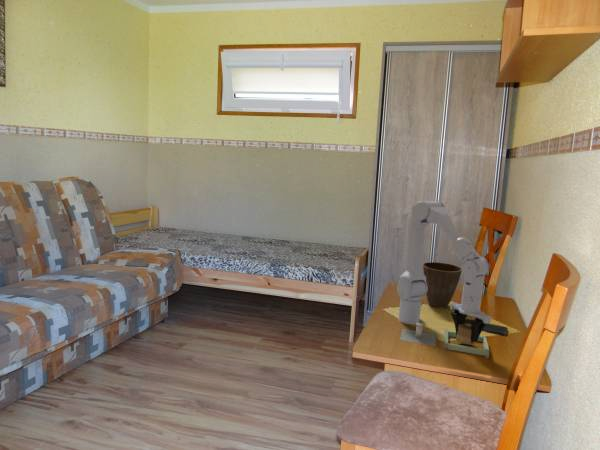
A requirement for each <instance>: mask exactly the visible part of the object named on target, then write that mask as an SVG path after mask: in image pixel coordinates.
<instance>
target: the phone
mask: <svg viewBox="0 0 600 450" xmlns="http://www.w3.org/2000/svg"><path fill="white" fill-rule="evenodd" d="M470 320H471V319H470V318H469V319H468V318H466V320H465V323H464V324H468V325H471V323H470ZM508 330H509V329H508V327H507V326H503V325H499V324H498V325H497V324H494V323H488V324H487V325H486V326H485V327H484V329H483V330H482V332H484V333H491V334H493V335H494V334H496V335H499V336H506V335H507V334H508Z"/></svg>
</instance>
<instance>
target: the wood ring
mask: <svg viewBox="0 0 600 450" xmlns="http://www.w3.org/2000/svg"><path fill="white" fill-rule="evenodd" d="M456 342H458V343H461V344H463V345H467V346H469V345H470V346H471V345H475V344H476V342H471V325H468V324H459V325H458V333H457V338H456Z"/></svg>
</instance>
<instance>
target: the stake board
mask: <svg viewBox="0 0 600 450" xmlns="http://www.w3.org/2000/svg"><path fill="white" fill-rule="evenodd" d="M415 326H416V328H415V330H412V329H406V328H402V330H401V334H400V338H399V341H402V342H408V343H412V344H413V343H415V344H419V345H426V346H432V347H437V334H436V333H431V332H424V331H423V330H424V326H425V324H424V323H422V322H419V323H416V324H415Z"/></svg>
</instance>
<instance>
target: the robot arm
mask: <svg viewBox="0 0 600 450" xmlns="http://www.w3.org/2000/svg"><path fill="white" fill-rule="evenodd" d="M430 224H435V225H438V227H439V228H440V229H441V231H442V232H443V233H444V235H445V236H446V237H447V238H448V240H449V241H450V242H451V246H450V247H451V250H452V251H453V253H454V254H455V257H456V258H457V260H458V261H459V262H460V264H461V268H462V272H461V273H462V274H463V288H462V295H461V302H460V303H457V302H450V303H449V309H450V310H454V311H452V312H450V315H451V317H452V319H453V323H454V328H455V332H456V335H457V333H458V325H459V324H464V323H465V320H466V319H467V317H468V316H469V317H471V318H473V319H470V323H471V342H475V343H476V342H478V341H477V340H478V338H479V336H481V333H482V332H483V331H482V330H483V329H484V327H485V326H486V325H487V324H488V323H489V324H492V317H491V316H490V315H488V314H486V313H484V312H483V311H481V304H482V298H483V291H484V290H483V289H484V285H485V283H484V282H485V276H486V275H488V274H489V272H490V263H489V261H488V259H487V258H485V257H483V256H480V254H479V253H478V252H477V251H476V249H475V248H474V246H473V245H472V241H471V240H470V239H468V238H466V237H462V235H461V234H460V233H459V230H458V229H457V227H456V226H455V224H454V222H453V220H452V218H451V217H450V216H449V209H448V208H447V207H446V206H445V204H444V203H443V202H442V201H440V200H433V201H432V200H431V201H430V200H428V201H427V200H425V201H424V200H419V201H417V202H415V203H414V204H413V205H412V206H411V215H410V217H409V219H408V226H407V227H408V229H407V230H408V231H407V245H406V246H407V247H406V262H405V265H406V266H405V271H404V272H403V273H402V274H401V275H400V277H399V281H398V284H397V285H396V291H397V294H398V297H399V299H400V301H399V309H398V310H399V311H398V317H397V318H398V321H399V322H400V323H402V324H406V325H416V323H420V318H421V310H422V309H421V308H422V300H423V299H424V297H425V295H426V293H427V290H428V287H427V283H426V276H425V275H424V272H423V264H424V263H423V261H424V258H423V257H424V245H425V231H426V227H428V226H429V225H430ZM426 296H427V295H426Z"/></svg>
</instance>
